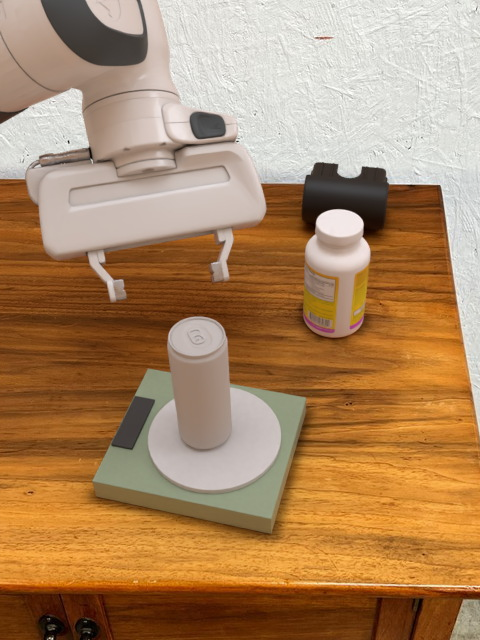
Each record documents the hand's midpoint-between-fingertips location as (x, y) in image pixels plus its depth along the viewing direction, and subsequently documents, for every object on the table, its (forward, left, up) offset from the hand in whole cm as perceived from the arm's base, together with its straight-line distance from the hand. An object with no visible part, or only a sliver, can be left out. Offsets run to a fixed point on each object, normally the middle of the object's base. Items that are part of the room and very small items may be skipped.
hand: (170, 291), depth 71 cm
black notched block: (+11, +30, -12) cm, 34 cm away
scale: (+5, -9, -11) cm, 15 cm away
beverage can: (+5, -9, -9) cm, 13 cm away
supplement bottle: (+13, +12, -12) cm, 22 cm away
